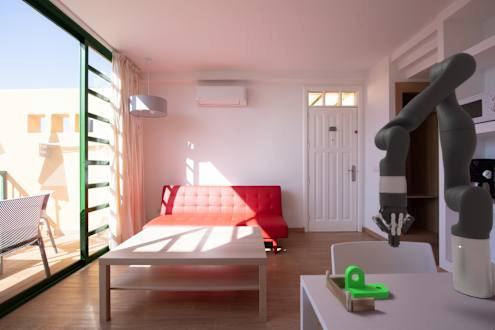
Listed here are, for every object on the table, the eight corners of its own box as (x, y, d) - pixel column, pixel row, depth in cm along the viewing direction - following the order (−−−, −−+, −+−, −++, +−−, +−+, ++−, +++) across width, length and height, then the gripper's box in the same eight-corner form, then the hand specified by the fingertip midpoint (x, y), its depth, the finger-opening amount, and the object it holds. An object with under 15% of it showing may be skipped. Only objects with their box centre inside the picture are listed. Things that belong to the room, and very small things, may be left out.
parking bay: (347, 284, 85) (347, 269, 85) (375, 310, 69) (374, 291, 69) (325, 285, 84) (325, 270, 85) (347, 311, 68) (347, 293, 69)
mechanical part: (354, 300, 75) (353, 273, 75) (345, 291, 81) (344, 265, 81) (393, 298, 76) (392, 271, 76) (381, 289, 82) (380, 264, 82)
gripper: (404, 190, 83) (406, 243, 82) (365, 190, 82) (367, 244, 82) (421, 191, 76) (423, 249, 75) (379, 191, 75) (380, 250, 74)
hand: (394, 246), depth 78 cm, fingers closed
